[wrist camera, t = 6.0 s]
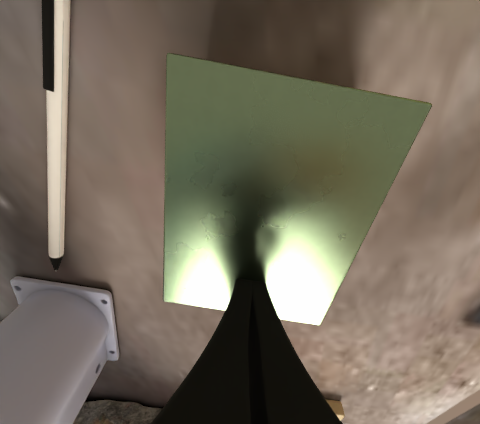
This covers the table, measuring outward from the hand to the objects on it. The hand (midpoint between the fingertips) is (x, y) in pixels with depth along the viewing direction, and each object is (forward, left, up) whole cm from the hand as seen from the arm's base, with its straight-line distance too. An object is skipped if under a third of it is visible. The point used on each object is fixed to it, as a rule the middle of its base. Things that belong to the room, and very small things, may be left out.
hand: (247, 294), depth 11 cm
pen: (+3, +12, -6) cm, 14 cm away
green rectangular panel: (+4, 0, 0) cm, 4 cm away
